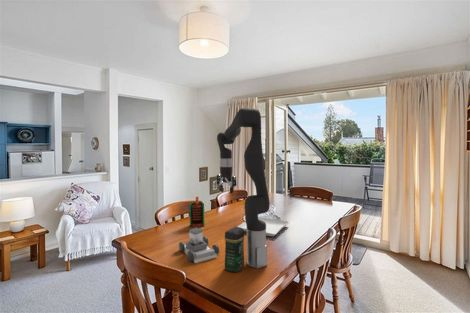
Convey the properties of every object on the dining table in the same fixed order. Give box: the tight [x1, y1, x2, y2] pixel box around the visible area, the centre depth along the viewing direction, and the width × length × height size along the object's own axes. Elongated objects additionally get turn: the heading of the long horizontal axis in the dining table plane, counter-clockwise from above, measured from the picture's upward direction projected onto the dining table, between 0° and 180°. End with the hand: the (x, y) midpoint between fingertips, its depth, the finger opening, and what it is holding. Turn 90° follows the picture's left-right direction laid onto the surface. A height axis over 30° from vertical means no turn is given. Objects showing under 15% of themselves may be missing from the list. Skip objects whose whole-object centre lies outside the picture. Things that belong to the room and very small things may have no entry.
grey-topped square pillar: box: [188, 227, 204, 246], centre depth 137 cm, size 5×5×10 cm
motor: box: [189, 196, 206, 228], centre depth 178 cm, size 10×9×20 cm
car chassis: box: [178, 236, 220, 264], centre depth 134 cm, size 20×15×5 cm
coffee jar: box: [224, 226, 245, 273], centre depth 117 cm, size 10×8×19 cm
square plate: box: [237, 216, 290, 237], centre depth 171 cm, size 27×27×4 cm
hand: (226, 192), depth 153 cm, fingers open, 8 cm apart
